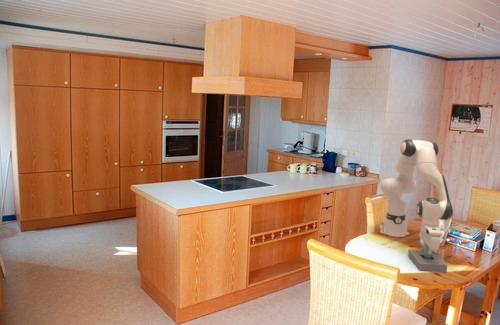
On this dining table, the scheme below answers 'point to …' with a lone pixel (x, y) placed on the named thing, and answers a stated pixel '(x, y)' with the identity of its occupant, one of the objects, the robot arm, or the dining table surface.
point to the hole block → (427, 261)
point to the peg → (426, 252)
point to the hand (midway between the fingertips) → (427, 251)
